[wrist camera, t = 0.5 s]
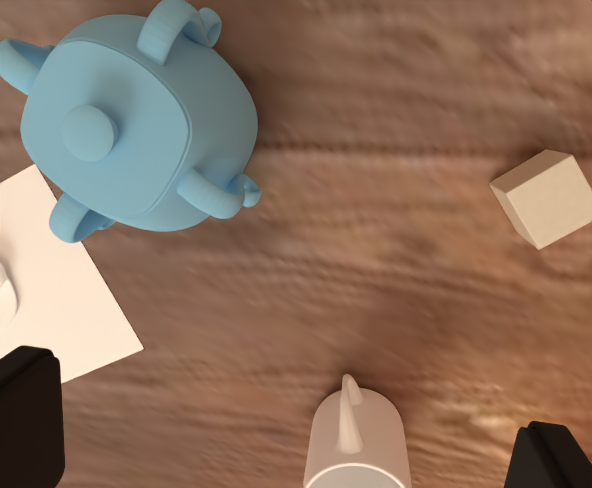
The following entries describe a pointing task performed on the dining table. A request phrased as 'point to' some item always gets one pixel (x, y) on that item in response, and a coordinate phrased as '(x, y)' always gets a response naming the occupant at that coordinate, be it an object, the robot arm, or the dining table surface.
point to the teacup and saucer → (2, 275)
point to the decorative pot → (136, 121)
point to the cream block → (545, 197)
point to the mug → (357, 442)
